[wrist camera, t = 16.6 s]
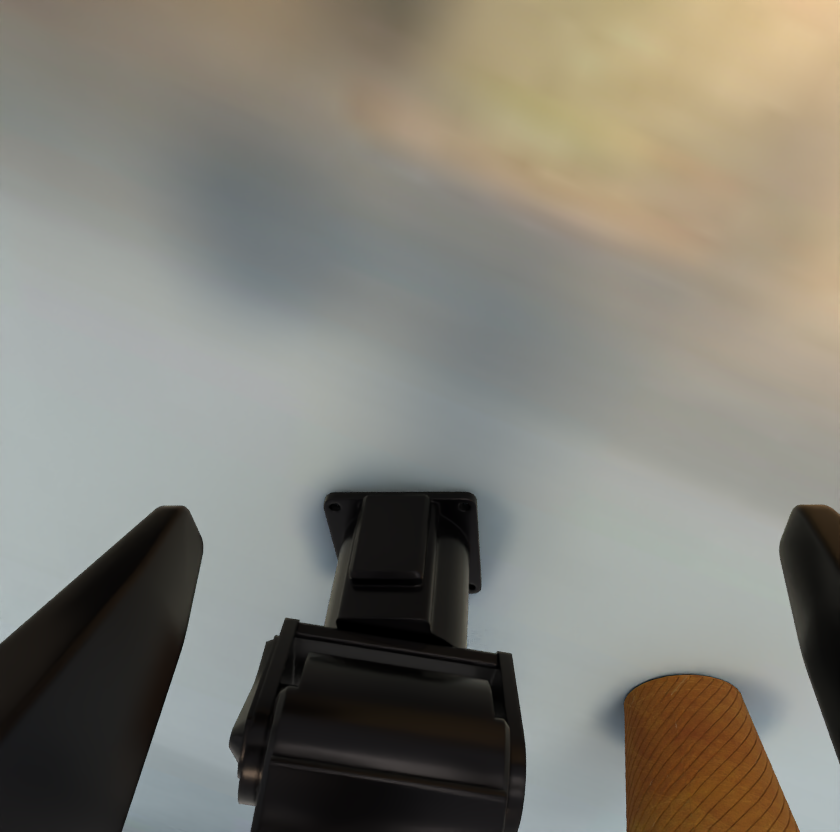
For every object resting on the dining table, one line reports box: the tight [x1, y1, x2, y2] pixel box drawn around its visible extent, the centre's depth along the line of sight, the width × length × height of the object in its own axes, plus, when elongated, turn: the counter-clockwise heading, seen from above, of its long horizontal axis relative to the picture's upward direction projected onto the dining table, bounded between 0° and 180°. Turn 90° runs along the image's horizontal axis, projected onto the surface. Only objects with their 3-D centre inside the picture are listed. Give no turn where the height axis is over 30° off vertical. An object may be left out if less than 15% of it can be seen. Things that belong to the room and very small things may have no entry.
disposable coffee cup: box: [624, 675, 800, 832], centre depth 34 cm, size 10×10×12 cm
